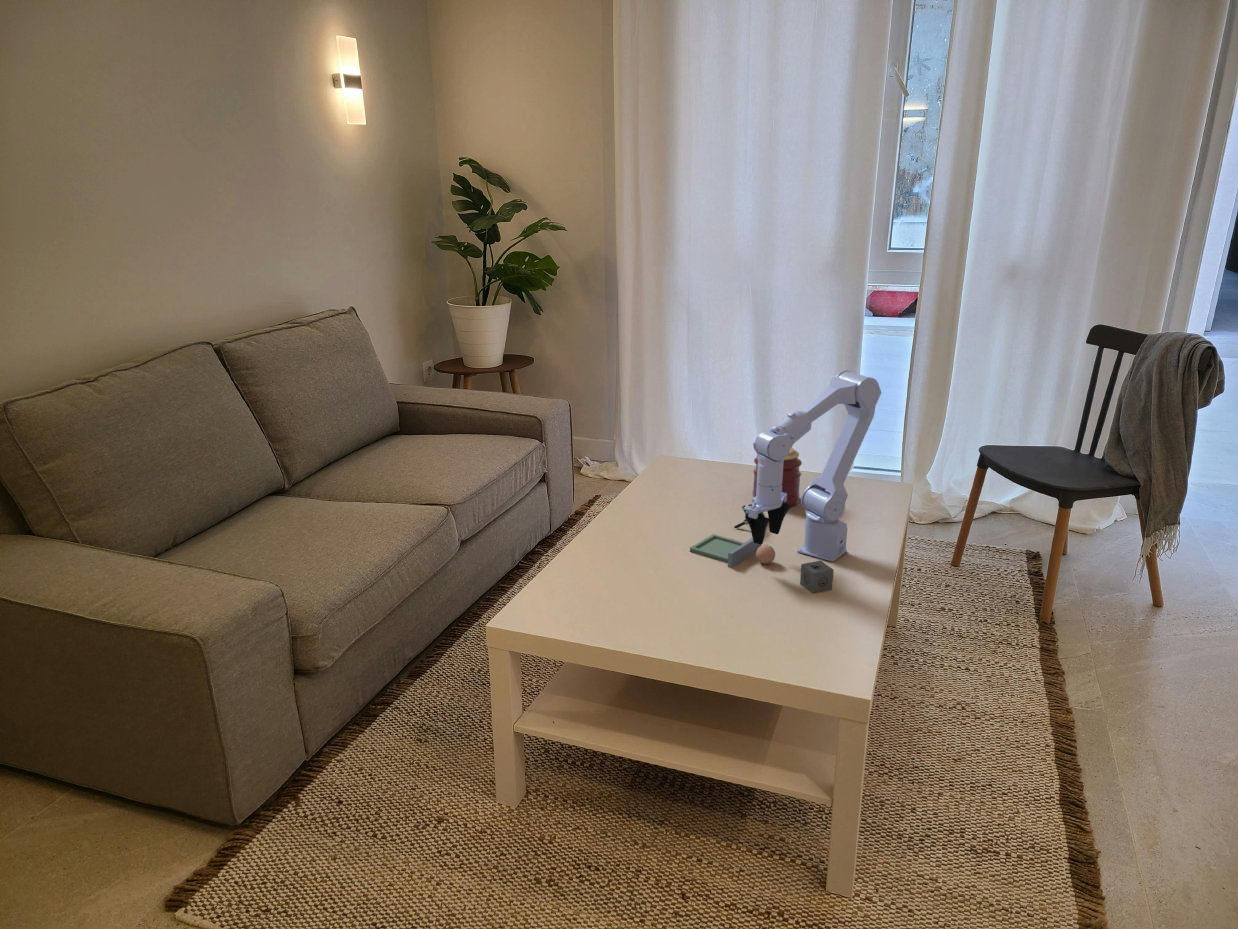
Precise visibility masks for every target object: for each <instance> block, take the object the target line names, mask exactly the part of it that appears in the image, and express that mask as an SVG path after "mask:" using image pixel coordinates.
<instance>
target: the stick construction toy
mask: <svg viewBox="0 0 1238 929" xmlns="http://www.w3.org/2000/svg"><path fill="white" fill-rule="evenodd" d="M752 505H753V503H750V504H748V505H747V506H748V507H750V508H751V507H752ZM745 507H746V505H742V506H741V509H742V511H743V512H744V515H745V514H746V513H748V512H749V508H748V509H747V508H746V509H745ZM763 515H764V517H766V516H765V513H763ZM744 525H746V526H747V525H748V526H749V524H748V522H747V520H746V518H745V519H743V521H742V522H740V523H738V524H736V525H734V526H733V527H734V529H735V528H737V529H738V528H741V527H742V526H744Z"/></svg>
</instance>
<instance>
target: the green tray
mask: <svg viewBox="0 0 1238 929" xmlns="http://www.w3.org/2000/svg"><path fill="white" fill-rule="evenodd" d="M743 543H744V542H743V541H739V540H736V539H732V538H729V537H725V536H722V535H719V534H715V533H712V534H711V535H709V536H708V537H706V538H704V539H702V540H701V541H699V542H697V543H696V544H693V545H692V546H690V547H689V552H690V553H691V552H692V553H693V554H694V553H695V554H697V555H700V556H704V557H706V558H711V559H714V560H717V561H721V562H724V563H727V564H728V553H729V552H730V551H732V550H734V549H735V548H737V547H738V546H740V545H742V544H743Z"/></svg>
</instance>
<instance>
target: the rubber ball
mask: <svg viewBox="0 0 1238 929" xmlns="http://www.w3.org/2000/svg"><path fill="white" fill-rule="evenodd" d="M755 558H756V559H757V561H758V562H759V563H761V564H763V565H769V564H771V563H772V562H774V560H775V559H776V552H775V549H774V548H773V547H772V546H771V545H768V544H761V546H760V547H759V548H758V549H757V551H756V552H755Z"/></svg>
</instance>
